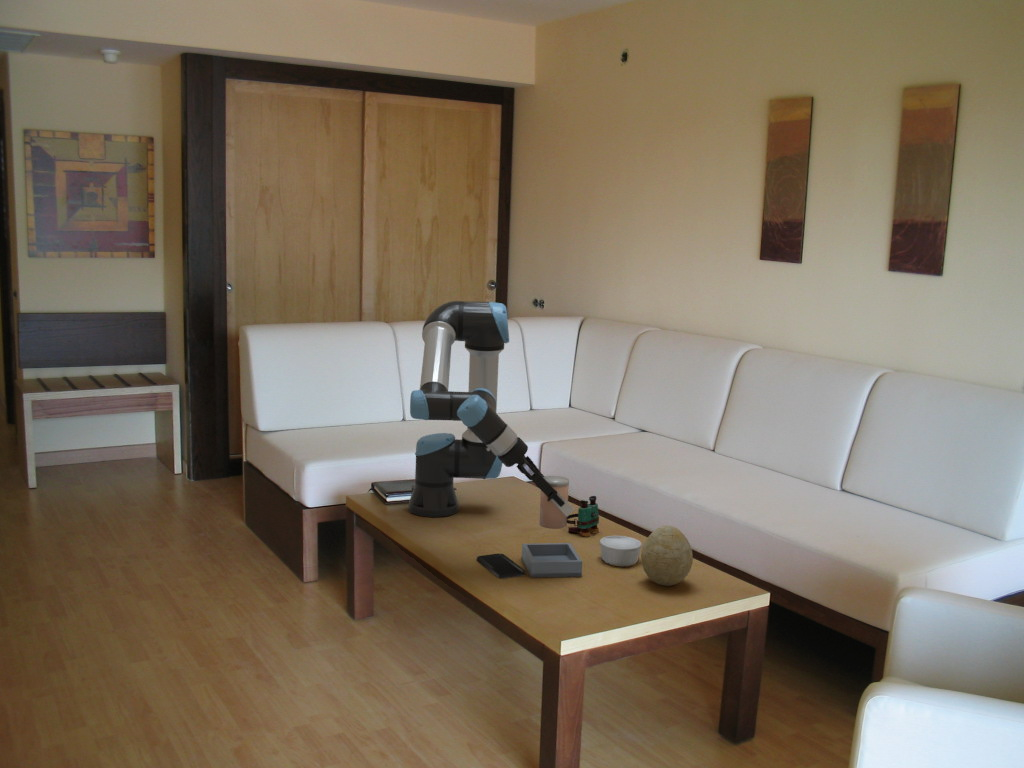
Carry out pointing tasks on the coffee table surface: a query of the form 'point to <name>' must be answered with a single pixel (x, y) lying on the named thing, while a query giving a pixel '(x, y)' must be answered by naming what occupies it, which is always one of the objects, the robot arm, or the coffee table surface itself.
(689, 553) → the fossilized egg
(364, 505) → the coffee table surface
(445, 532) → the coffee table surface
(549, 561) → the tray
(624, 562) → the ramekin
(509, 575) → the phone
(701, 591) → the coffee table surface
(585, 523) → the binoculars
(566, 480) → the beige round cylinder
